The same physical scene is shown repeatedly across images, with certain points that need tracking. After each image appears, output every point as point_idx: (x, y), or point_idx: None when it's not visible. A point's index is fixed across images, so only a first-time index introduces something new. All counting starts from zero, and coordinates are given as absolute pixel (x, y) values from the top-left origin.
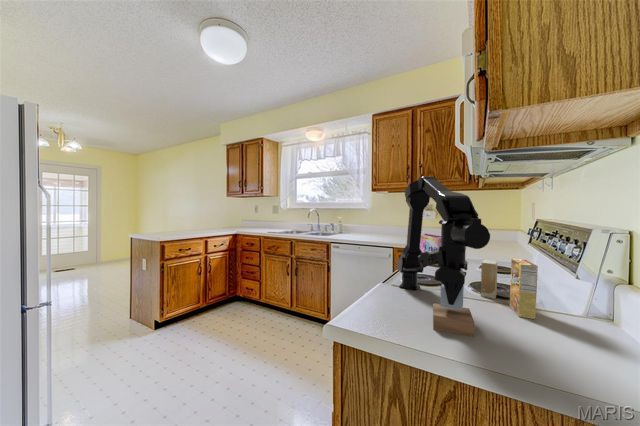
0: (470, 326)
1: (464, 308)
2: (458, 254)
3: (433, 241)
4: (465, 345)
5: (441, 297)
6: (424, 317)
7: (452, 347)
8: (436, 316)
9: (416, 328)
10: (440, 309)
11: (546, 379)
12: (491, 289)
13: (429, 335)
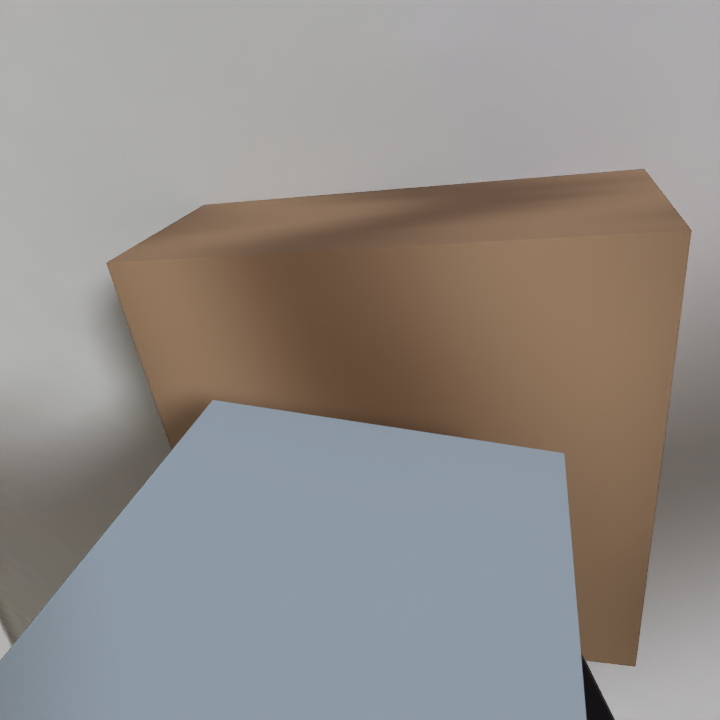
0: None
1: (607, 623)
2: None
3: None
4: (108, 439)
5: (124, 525)
6: (510, 51)
7: (12, 358)
8: (125, 296)
9: (97, 11)
10: (395, 351)
11: None
12: None
13: (53, 180)
